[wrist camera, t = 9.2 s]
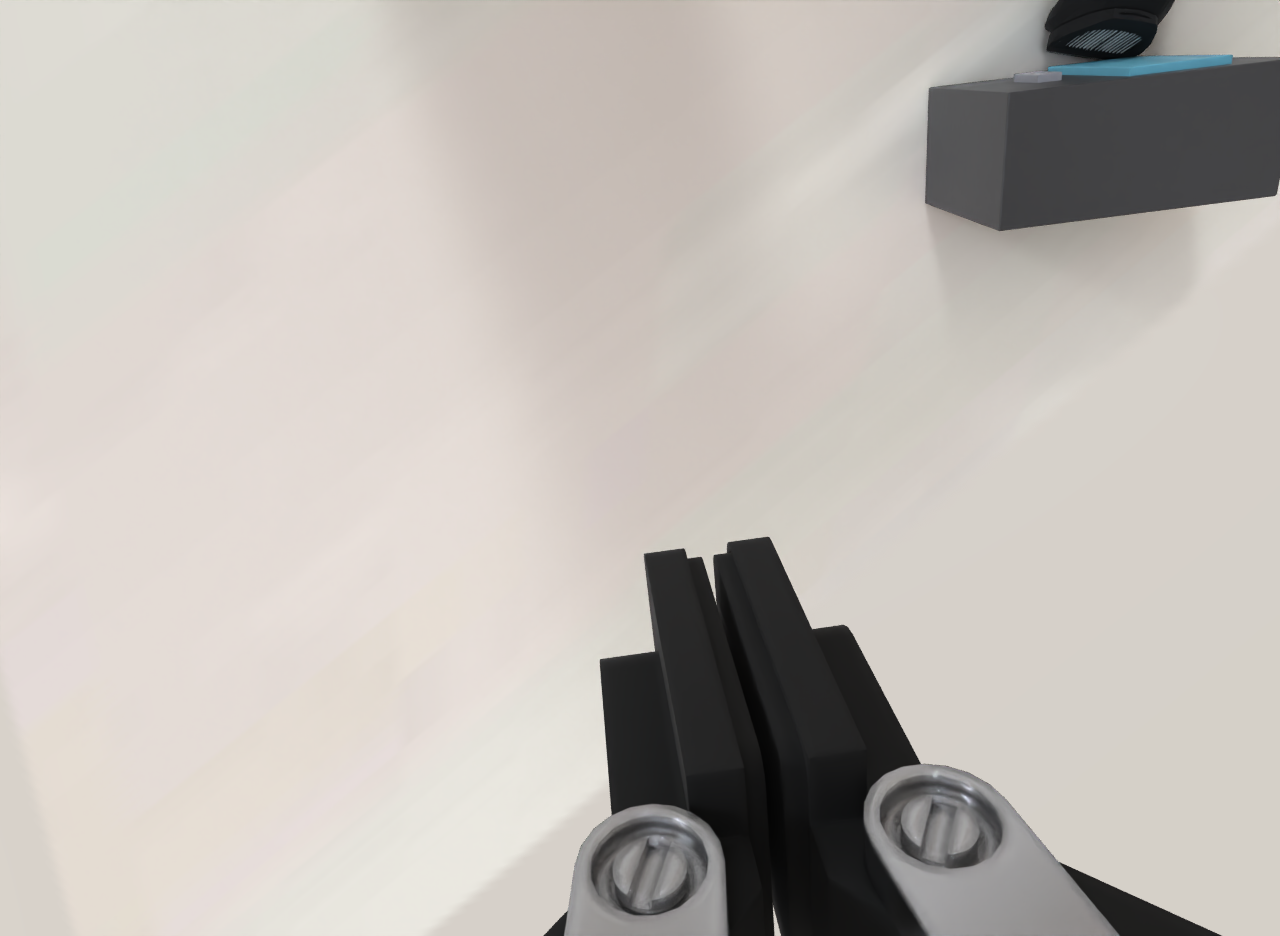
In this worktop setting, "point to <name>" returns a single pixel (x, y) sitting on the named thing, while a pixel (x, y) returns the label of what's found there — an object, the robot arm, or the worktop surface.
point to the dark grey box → (1105, 139)
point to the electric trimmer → (1104, 27)
